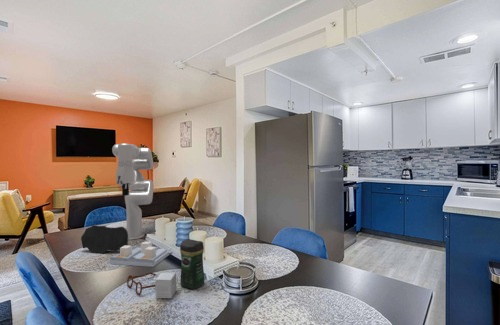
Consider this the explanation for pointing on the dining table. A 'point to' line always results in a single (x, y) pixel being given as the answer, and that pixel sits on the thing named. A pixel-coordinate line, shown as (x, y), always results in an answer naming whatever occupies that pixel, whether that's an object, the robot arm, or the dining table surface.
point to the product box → (165, 285)
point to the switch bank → (140, 258)
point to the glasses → (139, 282)
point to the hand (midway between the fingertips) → (125, 195)
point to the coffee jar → (192, 263)
